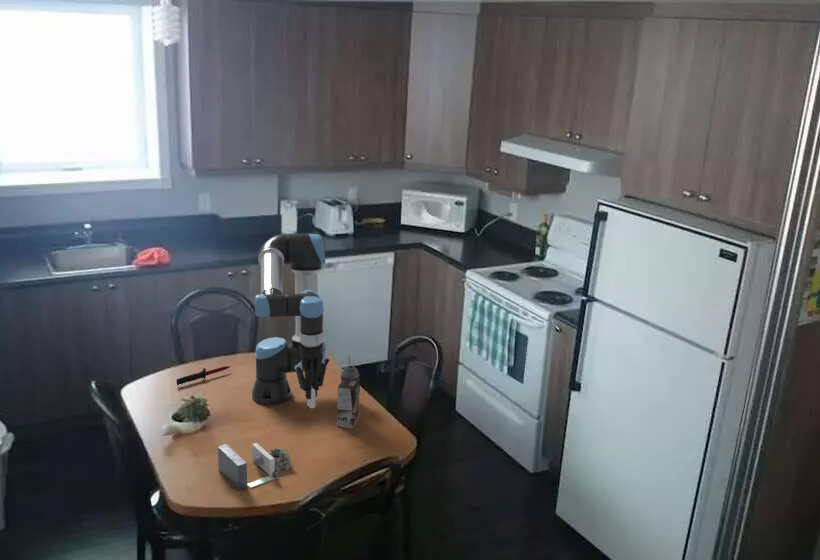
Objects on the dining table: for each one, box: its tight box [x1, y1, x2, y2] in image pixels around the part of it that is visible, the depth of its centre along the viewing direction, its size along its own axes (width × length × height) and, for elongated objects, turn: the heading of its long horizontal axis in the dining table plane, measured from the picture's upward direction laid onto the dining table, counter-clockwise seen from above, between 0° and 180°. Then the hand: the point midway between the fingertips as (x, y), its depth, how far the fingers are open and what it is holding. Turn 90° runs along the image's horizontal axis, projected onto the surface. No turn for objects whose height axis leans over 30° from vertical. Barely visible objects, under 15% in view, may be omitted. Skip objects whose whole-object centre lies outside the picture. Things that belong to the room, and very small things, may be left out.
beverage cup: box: [340, 354, 360, 381], centre depth 305 cm, size 7×7×20 cm
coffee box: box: [336, 378, 361, 430], centre depth 292 cm, size 9×6×16 cm
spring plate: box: [251, 442, 279, 478], centre depth 261 cm, size 14×3×6 cm, turn 40°
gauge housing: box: [217, 443, 279, 491], centre depth 257 cm, size 15×14×9 cm
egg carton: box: [264, 447, 292, 474], centre depth 265 cm, size 11×8×4 cm
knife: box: [176, 366, 231, 386], centre depth 321 cm, size 24×2×5 cm, turn 132°
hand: (311, 406), depth 269 cm, fingers closed
